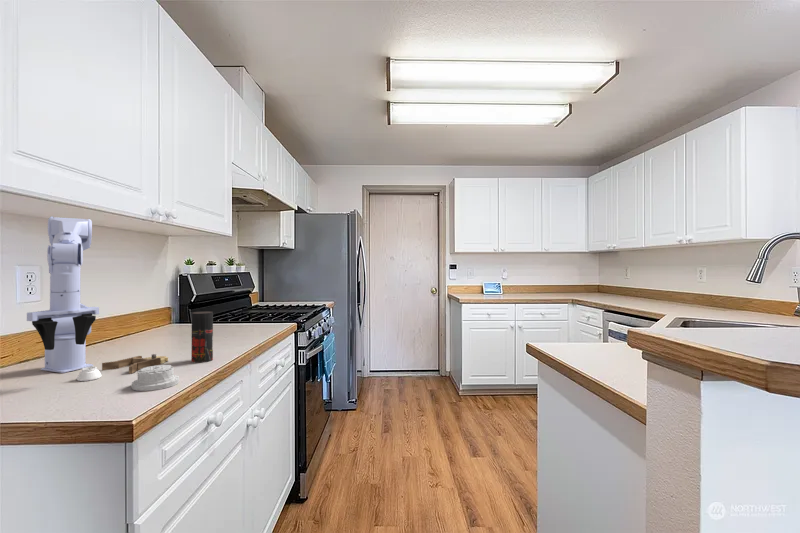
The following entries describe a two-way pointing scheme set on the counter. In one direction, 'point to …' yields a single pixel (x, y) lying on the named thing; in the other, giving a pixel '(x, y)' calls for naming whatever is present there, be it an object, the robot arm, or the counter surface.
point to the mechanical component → (155, 378)
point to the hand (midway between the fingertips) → (65, 346)
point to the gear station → (135, 363)
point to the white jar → (89, 374)
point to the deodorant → (202, 337)
